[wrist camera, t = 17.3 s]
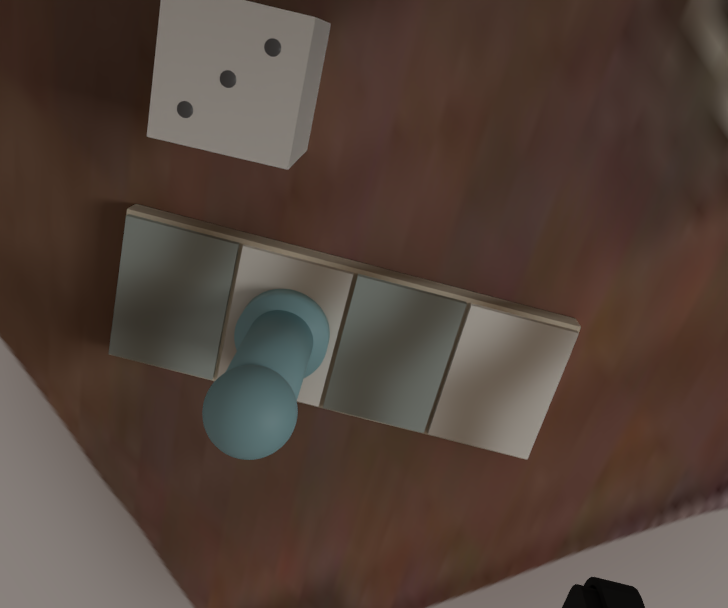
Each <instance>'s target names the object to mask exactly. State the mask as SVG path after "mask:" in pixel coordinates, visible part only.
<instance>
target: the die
mask: <svg viewBox="0 0 728 608" xmlns="http://www.w3.org/2000/svg"><path fill="white" fill-rule="evenodd" d="M330 26H331V24H330V23H328V22H326V21H323V20H321V19H319V18H316V17H312V16H308V15H304V14H300V13H296V12H292V11H288V10H283V9H279V8H275V7H271V6H267V5H263V4H259V3H254V2H250V1H246V0H161V3H160V13H159V23H158V32H157V42H156V52H155V61H154V71H153V81H152V90H151V100H150V110H149V119H148V129H147V137H151V138H155V139H159V140H163V141H168V142H172V143H176V144H180V145H185V146H189V147H193V148H197V149H202V150H206V151H210V152H214V153H219V154H223V155H227V156H232V157H236V158H240V159H244V160H249V161H253V162H257V163H261V164H266V165H270V166H274V167H278V168H283V169H287V170H288V169H289V168H290V167H291V166H292V165H293V164H294V163H295V162H296V161H297V160H298V159H299V158H300V157H301V156H302V155H303V154H304V153H305V152H306V151H307V148H308V142H309V137H310V132H311V126H312V121H313V116H314V111H315V105H316V100H317V95H318V90H319V84H320V79H321V74H322V69H323V63H324V58H325V53H326V48H327V42H328V37H329V32H330Z"/></svg>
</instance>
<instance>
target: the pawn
mask: <svg viewBox="0 0 728 608" xmlns="http://www.w3.org/2000/svg"><path fill="white" fill-rule="evenodd" d="M329 338H330V329H329V323H328V320H327V317H326V315H325V313H324V312H323V310H322V309H321V307H320V306H319V305H318V304H317V303H316V302H315V301H314V300H313V299H311V298H310V297H308V296H307V295H305V294H303V293H301V292H298V291H295V290H291V289H273V290H269V291H266V292H263V293H261V294H259V295H258V296H256V297H255V298H253V299H252V300H251V301H250V302H249V303H248V305H247V306H246V308H245V309H244V311H243V312H242V314H241V316H240V317H239V319H238V321H237V323H236V327H235V332H234V341H235V347H236V350H237V352H236V354H235V356H234V357H233V359H232V361H231V363H230V365H229V366H228V368H227V370H226V372H225V373H224V374H222V375H221V376H220V377H219V378H217V379H216V381H215V382H214V383H213V384H212V385H211V387H210V389H209V390H208V392H207V395H206V397H205V400H204V404H203V411H202V413H203V423H204V427H205V430H206V432H207V434H208V436H209V438H210V440H211V441H212V442H213V443H214V445H215V446H216V447H217V448H219V449H220V450H221V451H222V452H224V453H225V454H227V455H229V456H232V457H235V458H238V459H245V460H253V459H260V458H263V457H266V456H268V455H271V454H272V453H274V452H276V451H277V450H278V449H280V448H281V447H282V446H283V445H284V444H285V443H286V442H287V440H288V439H289V438H290V436H291V434H292V432H293V430H294V428H295V425H296V421H297V414H298V408H297V398H298V395H299V392H300V389H301V385H302V382H303V379H304V378H306V377H307V376H309V375H311V374H312V373H313V372H314V371H315V370H316V369H317V368H318V367H319V366H320V365H321V363H322V361H323V359H324V357H325V354H326V351H327V347H328V343H329Z"/></svg>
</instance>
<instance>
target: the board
mask: <svg viewBox="0 0 728 608" xmlns="http://www.w3.org/2000/svg"><path fill="white" fill-rule="evenodd" d="M273 289H291V290H295V291H298V292H301V293H303V294H305V295H307V296H308V297H310V298H311V299H313V300H314V301H315V302H316V303H317V304H318V305H319V306H320V307H321V309H322V310H323V312H324V313H325V315H326V317H327V320H328V323H329V329H330V338H329V343H328V347H327V351H326V354H325V357H324V359H323V361H322V363H321V365H320V366H319V367H318V368H317V369H316V370H315V371H314V372H313V373H312V374H311V375H309V376H307V377H306V378H304V379H303V382H302V385H301V389H300V392H299V395H298V398H297V402H300V403H304V404H308V405H312V406H316V407H320V408H324V409H328V410H332V411H336V412H340V413H344V414H348V415H352V416H356V417H360V418H363V419H367V420H371V421H375V422H379V423H383V424H387V425H391V426H395V427H399V428H403V429H407V430H411V431H415V432H419V433H423V434H427V435H431V436H435V437H439V438H443V439H447V440H451V441H455V442H459V443H463V444H467V445H471V446H475V447H479V448H483V449H487V450H491V451H495V452H499V453H503V454H507V455H511V456H514V457H518V458H522V459H526V460H527V459H528V457H529V454H530V452H531V449H532V447H533V444H534V442H535V440H536V437H537V435H538V432H539V430H540V427H541V425H542V422H543V420H544V418H545V415H546V413H547V410H548V408H549V405H550V403H551V400H552V398H553V395H554V393H555V391H556V388H557V386H558V383H559V381H560V378H561V376H562V373H563V371H564V369H565V366H566V364H567V361H568V359H569V356H570V354H571V351H572V349H573V347H574V344H575V342H576V339H577V337H578V334H579V331H580V328H581V326H580V325H579V323H578V322H577V320H576V319H575V318H572V317H568V316H564V315H560V314H556V313H553V312H549V311H545V310H541V309H537V308H533V307H530V306H526V305H522V304H518V303H514V302H510V301H507V300H503V299H499V298H495V297H491V296H487V295H484V294H480V293H476V292H472V291H468V290H464V289H461V288H457V287H453V286H449V285H445V284H441V283H438V282H434V281H430V280H426V279H422V278H418V277H415V276H411V275H407V274H403V273H399V272H395V271H392V270H388V269H384V268H380V267H376V266H372V265H369V264H365V263H361V262H357V261H353V260H350V259H346V258H342V257H338V256H334V255H330V254H327V253H323V252H319V251H315V250H311V249H307V248H304V247H300V246H296V245H292V244H288V243H284V242H281V241H277V240H273V239H269V238H265V237H261V236H258V235H254V234H250V233H246V232H242V231H238V230H235V229H231V228H227V227H223V226H219V225H215V224H212V223H208V222H204V221H200V220H196V219H192V218H189V217H185V216H181V215H177V214H173V213H169V212H166V211H162V210H158V209H154V208H150V207H146V206H143V205H139V204H135V205H133V206H131V207H129V208H128V209H127V214H126V221H125V229H124V236H123V244H122V252H121V260H120V268H119V276H118V284H117V292H116V299H115V307H114V315H113V323H112V331H111V339H110V347H109V355H113V356H117V357H121V358H125V359H129V360H133V361H137V362H141V363H145V364H149V365H153V366H157V367H161V368H165V369H169V370H173V371H177V372H181V373H185V374H189V375H193V376H197V377H201V378H205V379H209V380H212V381H216V379H217V378H219V377H220V376H221V375H222V374H224V373H225V372H226V370H227V368H228V366H229V365H230V363H231V361H232V359H233V357H234V356H235V354H236V352H237V350H236V347H235V341H234V332H235V327H236V323H237V321H238V319H239V317H240V316H241V314H242V312H243V311H244V309H245V308H246V306H247V305H248V303H249V302H250V301H251V300H252V299H253V298H255V297H256V296H258V295H259V294H261V293H263V292H266V291H269V290H273Z"/></svg>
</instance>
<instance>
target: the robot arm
mask: <svg viewBox="0 0 728 608" xmlns="http://www.w3.org/2000/svg"><path fill="white" fill-rule="evenodd" d="M562 608H645V606H644V604H643V601H642V598H641V596H640V594H639V592H638V590H637V589H636V588H634V587H633V586H629V585H625V584H621V583H617V582H613V581H609V580H604V579H600V578H596V577H591V578H589V579H588V580H587V581H586V583H585V584H584V586H582V585H578V584H577V585H576V584H575V585H574V586H573V587H572V588H571V590H570V592H569V594H568V596H567V598H566V601H565V602H564V605H563V607H562Z"/></svg>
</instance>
